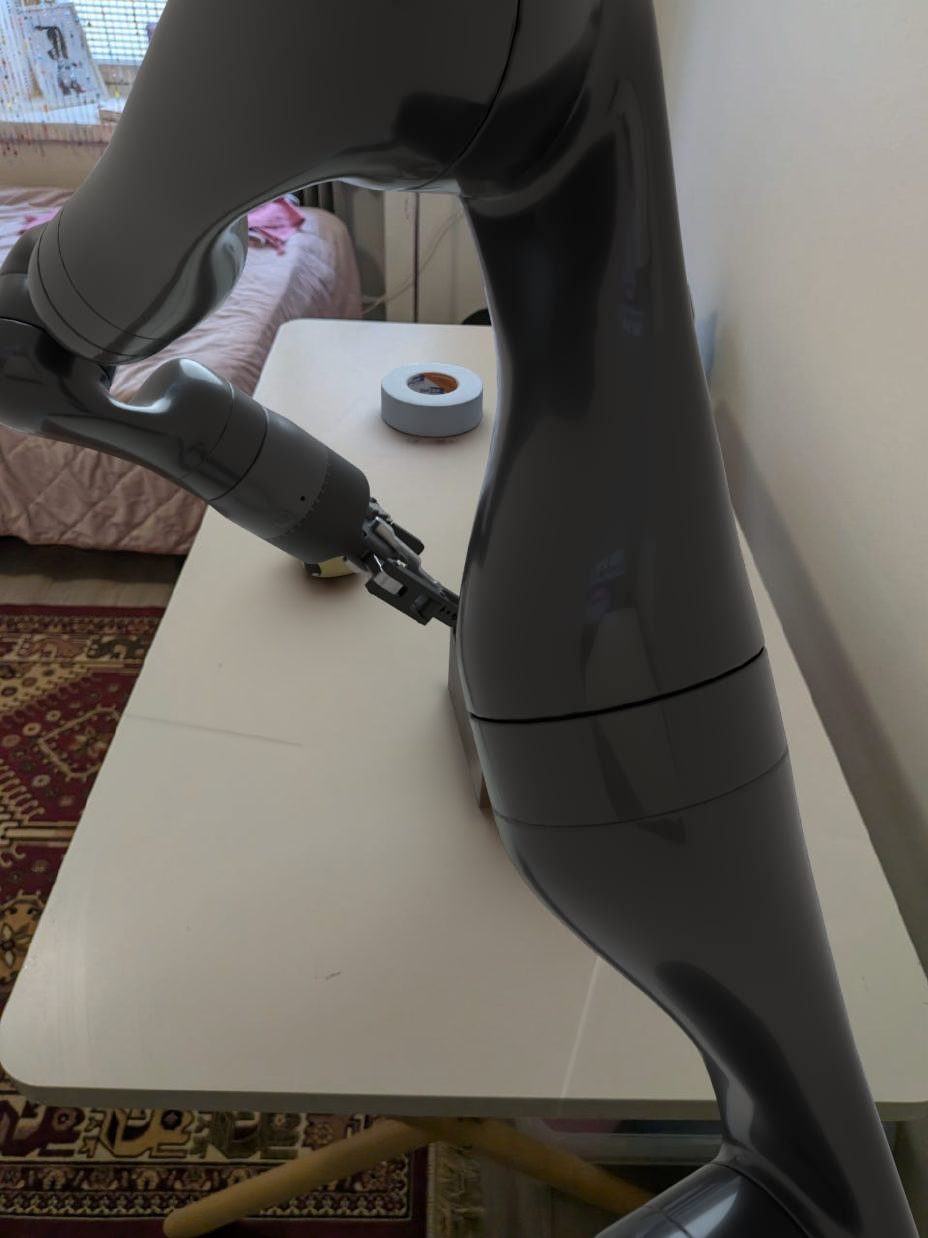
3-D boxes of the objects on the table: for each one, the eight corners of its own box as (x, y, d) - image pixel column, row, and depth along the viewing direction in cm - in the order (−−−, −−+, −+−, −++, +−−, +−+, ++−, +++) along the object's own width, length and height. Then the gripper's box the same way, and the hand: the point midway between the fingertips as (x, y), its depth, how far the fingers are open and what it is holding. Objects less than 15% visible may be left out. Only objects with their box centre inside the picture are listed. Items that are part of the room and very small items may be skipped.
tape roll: (411, 383, 148) (412, 352, 145) (498, 405, 144) (500, 374, 140) (362, 422, 138) (361, 390, 134) (454, 447, 133) (455, 415, 129)
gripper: (358, 496, 55) (513, 601, 66) (286, 395, 65) (432, 502, 76) (279, 587, 57) (443, 675, 68) (220, 475, 66) (373, 568, 78)
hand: (437, 583), depth 72 cm, fingers open, 8 cm apart
